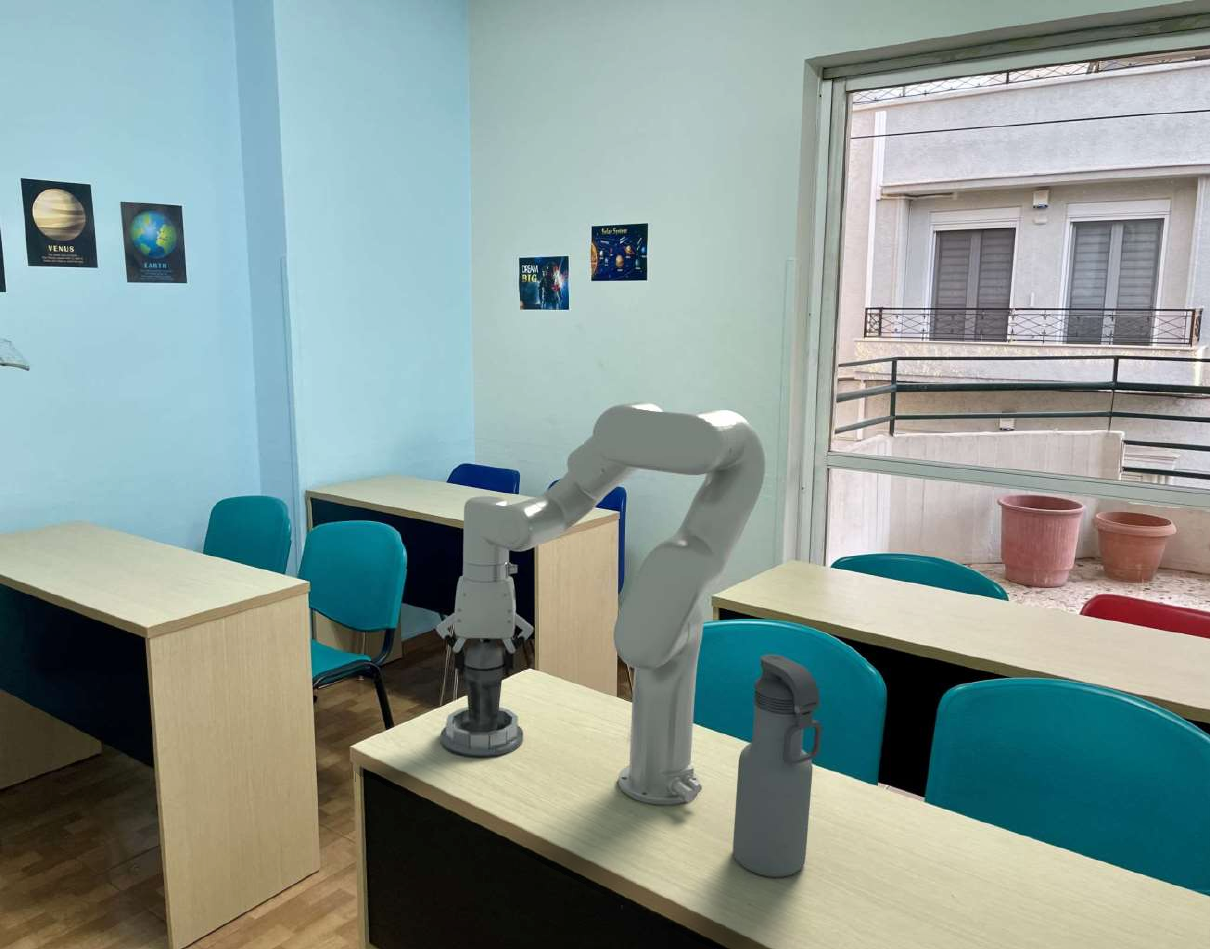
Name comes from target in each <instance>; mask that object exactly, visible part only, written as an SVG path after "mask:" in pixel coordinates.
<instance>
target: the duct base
mask: <svg viewBox="0 0 1210 949" xmlns="http://www.w3.org/2000/svg"><path fill="white" fill-rule="evenodd" d="M518 724H519V716H518V715H517V714H515V713H514V712H513V711H512V710H511V709H508V708H503V707H500V706H499V713H498V720H497V728H496V729H495V730H494V731H491V732H487V733H479V732H475V731H472V730H471V728H470V720H469V711H468V706H466V707H462V708H459V709H457V710H455V711H454V712H452V713H450V714H448V715H447V718H446V722H445V727H443V729H442V730H441V733H440V744H441V746H442V747H443V749H445V750H446V751H448V752H449V753H451V754H453V755H457V756H460V757H465V758H470V759H471V758H472V759H475V758H476V759H486V758H495V757H500V756H504V755H508V754H510V753H512V752H514V751H515V750H517V749H518V748H519V747H520V746H521V745H522V743H523V741H524V732H523V729H522V727H520V726H519V725H518Z"/></svg>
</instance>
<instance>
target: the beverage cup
mask: <svg viewBox="0 0 1210 949" xmlns="http://www.w3.org/2000/svg"><path fill="white" fill-rule="evenodd" d="M463 665H464V671H463V673H464V676H465V682H466V696H467V697H466V698H467V707H468V711H469V720H470V728H471V730H472V731H475V732H479V733H487V732H491V731H494V730H495V729H496V728H497V720H498V713H499V707H500V702H501V694H502V693H501V692H502V685H503V684H502V681H503V676H504V674H505V652H504V650H503V648H502V647H501V645H500V644H499V643H498V642H497V641H494V639H477V640H475V641H473V642H472V643H470V645H469V646H468V647H467V649H466V650H465V652H464V661H463Z"/></svg>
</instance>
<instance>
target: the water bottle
mask: <svg viewBox="0 0 1210 949" xmlns="http://www.w3.org/2000/svg"><path fill="white" fill-rule="evenodd" d="M760 668H761V670H762V672H761V677H759V678H758V679H756V680H755V682H754V684H753V688H754V691H753V692H754V694H753V696H754V699H753V701H752V704H753V705H752V706H754V713H753V725H752V726H753V727H752V742H750V743H749V744H747V745H746V746H745V747H744V748H743V749H742V750H741V751H740V754H739V758H738V766H737V768H738V769H737V779H736V780H737V783H736V797H735V811H734V812H735V813H734V825H733V826H734V828H733V839H732V840H733V841H732V842H733V843H732V852H733V856H734V857H735V860H736V861H737V862H738V864H740V865H741V866H742V867H743V868H745V869H746V870H748V871H749V872H752V873H754V874H758V875H761V876H764V877H771V878H772V877H773V878H782V877H789V876H792V875H795V874H796V873H798V872H799V871H800V870H801V869H802V868H803V866H804V865H805V861H806V858H807V857H806V856H807V847H808V846H807V844H808V832H809V830H808V829H809V819H810V806H811V794H812V793H811V792H812V784H813V783H812V782H813V781H812V780H813V770H814V769H813V763H812V760H813V759H816V757H818V755H819V753H820V750H821V743H822V742H821V740H822V730H823V729H822V728H823V727H822V724H821V723H820V721H817V720H815V719H813V716H814V711H815V710H818V709H819V708H820V692H819V688H818V685H817V682H816V681H815V678H814V677H813V675H812V674H811V672H810V671H809V670H808V669H807V668H806V667H804V666H803V665H801V663H797V662H796V661H793V660H791V659H788V658H787V657H785V656H783V655H778V654H772V653H771V654H763V655H762V656H760ZM813 727H814V737H813V738H814V740H813V747H812V749H811V750H810V751H809V752H808V753H807V751H805V750H804V749H803V737H804V736H803V735H804V730H805V729H807V728H813Z"/></svg>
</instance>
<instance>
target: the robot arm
mask: <svg viewBox="0 0 1210 949" xmlns="http://www.w3.org/2000/svg"><path fill="white" fill-rule="evenodd" d="M592 429H593V430H592V435H591V436H589V437H588V439H586V440H585V441H583V443H581V444H580V445H578V447H576V449H574V450H572V452H570V454H569V455H568V457H567V460H566V463H567V464H566V465H567V472H566V473H565V474H564V475H563V476H562V478H560V479H559V480H558V481H556V483H554V484H553V485H552V486H550V487H549V488H548V489H547V490H546V491H545V492H543V493H542V494H540V495H539V496H537V497H534V498H531V499H527V500H524V501H521V502H517V503H513V504H509V502H508V501H507V500H506V499H504V498H503V497H497V496H485V495H482V496H481V495H480V496H474V497H470V498H469V499H467V500H466V501H465V503H464V506H463V546H462V548H463V549H462V550H463V551H462V556H463V558H462V559H463V560H462V564H463V565H462V575H461V576H459V578H458V582H457V585H456V593H455V594H456V595H455V604H454V612H453V613H451V615H449V616H448V617H446V618H445V619H444V620H443V621H441V622H440V623H438V624H437V625H436V628H435V631H436V632H437V633H438V634H439V636H440V637H441V638H442V639H443V640H444V643H446V644H447V645H448V646H449V647H450V648H451V649H452V651H453V652H454V669H458V670H457V672H458V673H457V674H458V676H462V675H463V674H464V665H463V661H464V657H465V648H464V644H465V642H466V640H467V639H474V640H475V639H477V640H479V639H491V640H501V641H502V642H503V643H504V646H505V652H504V655H505V668H504V676H505V677H509V676H510V671H511V670H514V667H515V652H516V651H517V649H519V648H520V647H521V646H522V645H523V644H524V643H525V642H526V640H528V638H529V637H530V636H531V635H532V634H533V632H534V626H532V625H531V624H530V623H529V622H527V621H526V619H524V618H523V617H521V616H520V615H519V614H517V606H516V605H517V604H516V589H515V584H514V579H513V577H512V576H510V575H511V574H517V573H518V564H513V563H511V562H510V551H513V552H525V551H527V550H531V549H533V548H535V547H538V546H541V545H542V544H544V543H547V542H550V541H552V540H555V539H557V538H558V537H560V536H561V535H563V534H564V533H566V532H567V531H568V530H569V529H571V528H572V527H573V526H574V525H576V524H577V523H578V522H580V521H581V520H582V519H584V518H585V517H586V516H587V515H588V514H589V513H590V512H591V511H593V510H594V509H595V507H597V505H598V504H599V503H601V502H602V501H603V499H604V498H605V497H606V496H608V494H609V493H611V492H612V491H613V490H614V489H616V488H617V487H618V486H620V484H622V483H623V482H625V480H627V479H628V478H630V476H632V475H633V474H634V473H637V471H638V470H649V471H657V472H662V473H670V474H676V475H686V476H700V475H705V477H704V480H703V481H702V483H701V485H700V487H699V488H698V490H697V492H696V493H695V494H694V497H693V499H692V501H691V504H690V505H689V507H688V510H687V513H686V515H685V517H684V519H683V521H682V523H681V524H680V526H679V528H678V529H677V531H676V532H675V534H674V535H672V536H671V537H669V538H667V539H666V540H664V541H661V542H660V543H659V544H657V545H656V546H655V547H653V548H652V549H651V550H650V552H649V553H647V555H646V557H645V558H644V560H643V561H642V563H641V565H640V567H639V569H638V571H637V573H636V575H635V577H634V580H633V582H632V584H631V587H630V588H629V590H628V593H627V595H626V597H625V599H624V601H623V604H622V606H621V608H620V610H619V612H618V615H617V617H616V620H615V623H614V627H613V635H612V637H613V643H614V644H613V645H614V648H615V650H616V652H617V655H618V656H619V658H620V659H621V660H622V662H624V663H625V664H626V665H627V666H628V667H631V668H633V669H634V672H633V673H634V674H633V685H632V701H631V702H632V703H631V708H632V709H631V723H630V724H631V726H630V742H629V743H630V746H629V765H627V766H626V767H624V768H623V769H622V770H621V771H620V772H619V775H618V786H619V788H620V789H621V791H622V792H623V793H625V795H627V796H629V797H630V798H632V799H634V800H637V801H639V802H642V803H646V804H651V805H658V806H659V805H661V806H662V805H666V806H668V805H676V804H680V803H681V804H682V803H684V802H686V803H691V802H693V800H694V799H695V797H696V795H697V794H699V793H700V792H701V791H702V790H703V788H702V786H703V785H701V784H700V779H699V776H697V774H696V773H695V772H694V770H695V767H694V766H693V765H692V764H691V762H692V746H693V726H694V711H695V695H696V680H697V670H698V662H699V661H698V660H699V655H700V649H701V648H700V647H701V644H702V639H703V638H702V637H703V630H704V618H703V612H702V609H701V606H700V604H699V600H700V599H701V598H702V597H703V596H705V595H706V594H707V593H708V592H710V591H712V590H713V589H714V588H715V587H716V586H717V585H718V584H719V582H720V581H721V579H722V578H723V575H724V574H725V571H726V568H727V566H728V564H729V561H730V559H731V557H732V555H733V553H734V551H735V549H736V547H737V545H738V543H739V540H740V538H741V537H742V534H743V532H744V530H745V527H746V524H747V522H748V521H749V518H750V517H751V515H752V512H753V510H754V508H755V506H756V504H757V501H758V499H759V496H760V493H761V490H762V487H763V484H764V480H765V473H766V472H765V471H766V460H765V459H766V458H765V452H764V448H763V445H762V442H761V439H760V437H759V435H758V434H757V432H756V430H755V428H754V427H753V426H752V425H751V423H749V421H747V420H746V418H744V417H743V416H742V415H740V414H738V413H737V412H734V411H731V410H728V409H720V408H719V409H709V410H705V411H701V412H695V413H684V412H683V413H682V412H672V411H663V410H662V409H661V408H660V407H659V406H657V405H655V404H654V403H652V402H651V403H650V402H646V401H636V402H628V403H621V404H618V405H614V406H612V407H609V408H608V409H605V411H604V412H602V413H601V414H600V416H599V417H598V418H597V419H596V422H595V423H594V426H593V428H592ZM451 626H453V628H454V629H453V631H454V634H455V636H457V637H455V636H454V635H453V634H452V633H451V632H449V630H448V629H449V628H450V627H451ZM516 626H517V627H518V628H519V629H521V630H522V631H521V632H520V633H519V634H518V635H517V636H516V637H515V638H513V636H514V635H515V629H516Z"/></svg>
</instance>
